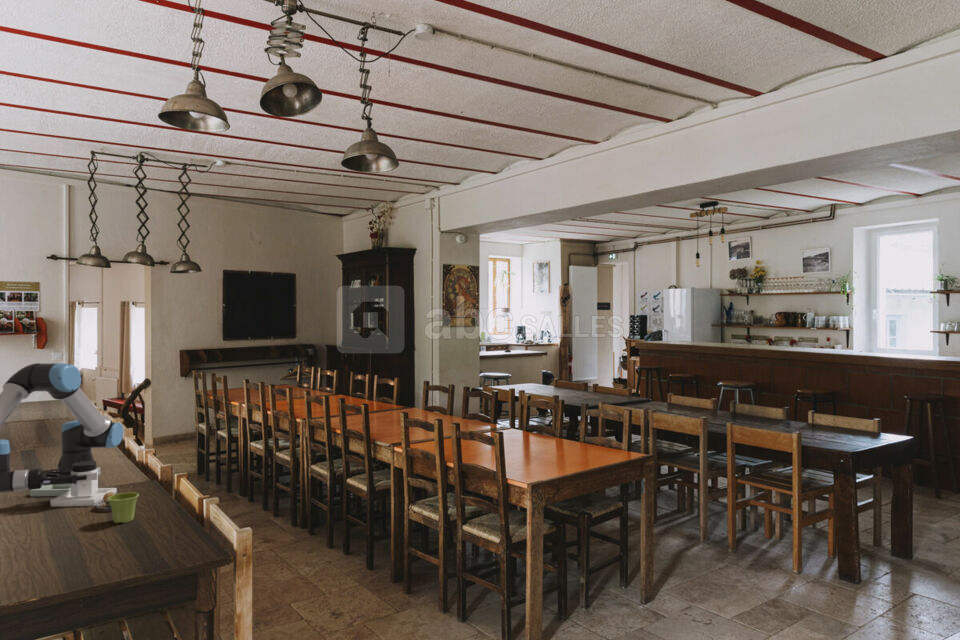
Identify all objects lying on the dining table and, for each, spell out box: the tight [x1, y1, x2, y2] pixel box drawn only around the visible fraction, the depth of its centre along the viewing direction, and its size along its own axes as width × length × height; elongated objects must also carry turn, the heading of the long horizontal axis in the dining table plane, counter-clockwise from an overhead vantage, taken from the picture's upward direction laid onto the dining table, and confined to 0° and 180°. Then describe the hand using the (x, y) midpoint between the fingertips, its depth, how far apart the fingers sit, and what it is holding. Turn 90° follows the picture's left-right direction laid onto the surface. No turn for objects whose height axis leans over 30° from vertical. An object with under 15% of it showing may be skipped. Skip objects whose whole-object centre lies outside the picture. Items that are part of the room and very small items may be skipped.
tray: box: [50, 487, 118, 507], centre depth 243 cm, size 16×16×2 cm
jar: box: [71, 461, 99, 497], centre depth 243 cm, size 9×8×12 cm
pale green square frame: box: [29, 484, 71, 497], centre depth 255 cm, size 14×15×2 cm
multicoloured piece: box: [94, 491, 114, 513], centre depth 234 cm, size 12×12×8 cm
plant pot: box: [108, 492, 140, 524], centre depth 219 cm, size 9×9×9 cm
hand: (98, 473), depth 245 cm, fingers closed on jar, 8 cm apart
